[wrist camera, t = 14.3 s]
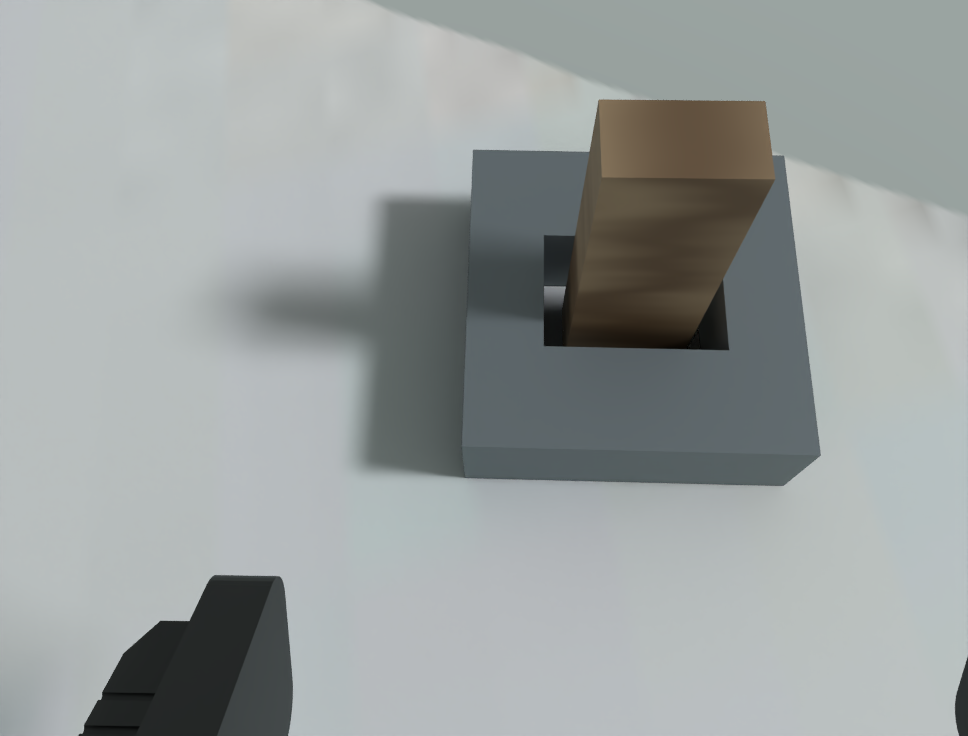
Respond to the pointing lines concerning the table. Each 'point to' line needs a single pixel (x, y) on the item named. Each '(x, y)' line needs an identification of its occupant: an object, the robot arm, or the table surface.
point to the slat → (662, 217)
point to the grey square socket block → (627, 352)
